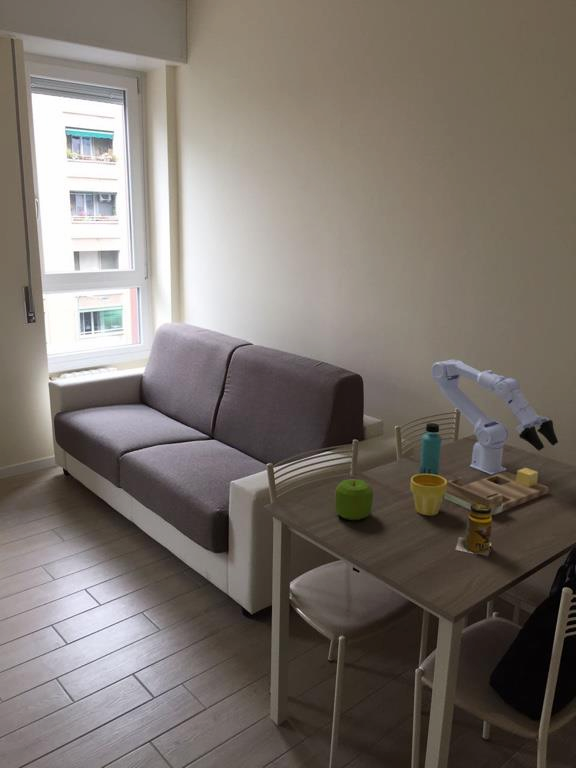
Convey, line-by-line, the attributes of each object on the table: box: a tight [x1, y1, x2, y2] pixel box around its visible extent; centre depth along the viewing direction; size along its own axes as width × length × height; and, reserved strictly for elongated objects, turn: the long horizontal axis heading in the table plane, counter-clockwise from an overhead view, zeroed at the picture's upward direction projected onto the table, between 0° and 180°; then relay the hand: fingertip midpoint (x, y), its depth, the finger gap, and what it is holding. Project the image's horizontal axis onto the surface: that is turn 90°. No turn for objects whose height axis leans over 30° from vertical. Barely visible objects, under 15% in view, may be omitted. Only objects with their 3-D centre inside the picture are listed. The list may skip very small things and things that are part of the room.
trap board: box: [443, 470, 549, 517], centre depth 202 cm, size 30×16×6 cm, turn 126°
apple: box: [334, 478, 374, 521], centre depth 187 cm, size 11×11×11 cm
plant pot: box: [410, 473, 448, 516], centre depth 190 cm, size 10×10×10 cm
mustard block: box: [516, 467, 539, 487], centre depth 207 cm, size 4×4×4 cm
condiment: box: [455, 503, 493, 555], centre depth 169 cm, size 7×8×12 cm
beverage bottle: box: [419, 422, 443, 476], centre depth 209 cm, size 6×7×20 cm
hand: (548, 446), depth 204 cm, fingers open, 7 cm apart
